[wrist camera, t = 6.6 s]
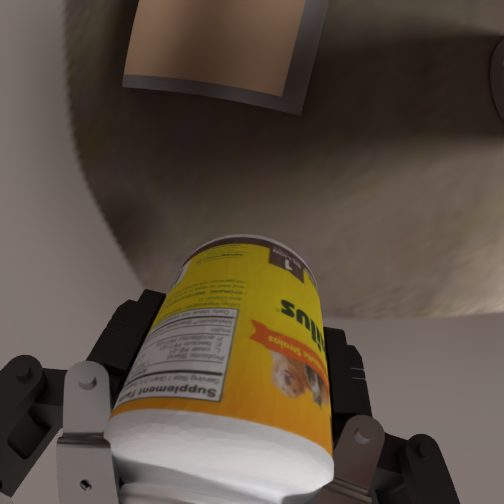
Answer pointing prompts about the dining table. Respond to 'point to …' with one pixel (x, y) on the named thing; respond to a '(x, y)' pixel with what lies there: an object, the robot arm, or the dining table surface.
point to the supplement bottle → (229, 385)
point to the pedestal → (227, 49)
